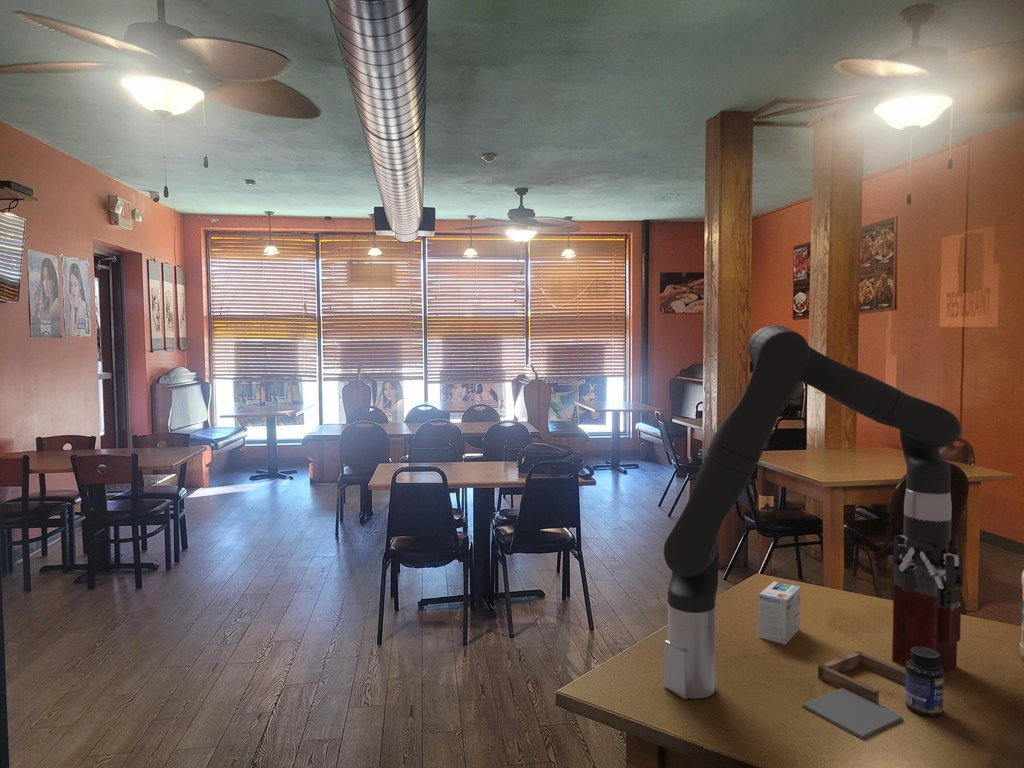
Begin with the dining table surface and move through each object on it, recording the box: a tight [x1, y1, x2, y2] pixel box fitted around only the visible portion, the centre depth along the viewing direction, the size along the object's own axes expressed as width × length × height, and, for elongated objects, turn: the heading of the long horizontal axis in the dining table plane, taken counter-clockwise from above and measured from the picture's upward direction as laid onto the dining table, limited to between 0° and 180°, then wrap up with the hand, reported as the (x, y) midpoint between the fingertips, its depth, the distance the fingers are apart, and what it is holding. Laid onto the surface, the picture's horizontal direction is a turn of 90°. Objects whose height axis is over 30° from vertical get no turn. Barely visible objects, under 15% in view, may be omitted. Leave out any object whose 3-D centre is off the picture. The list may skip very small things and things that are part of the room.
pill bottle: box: [904, 647, 945, 718], centre depth 125 cm, size 6×6×11 cm
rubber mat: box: [802, 688, 903, 740], centre depth 124 cm, size 12×12×1 cm
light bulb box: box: [757, 581, 801, 645], centre depth 158 cm, size 11×7×11 cm, turn 141°
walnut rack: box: [817, 650, 906, 705], centre depth 135 cm, size 13×12×2 cm
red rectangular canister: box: [891, 554, 962, 674], centre depth 141 cm, size 9×11×28 cm
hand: (925, 599), depth 125 cm, fingers open, 8 cm apart
